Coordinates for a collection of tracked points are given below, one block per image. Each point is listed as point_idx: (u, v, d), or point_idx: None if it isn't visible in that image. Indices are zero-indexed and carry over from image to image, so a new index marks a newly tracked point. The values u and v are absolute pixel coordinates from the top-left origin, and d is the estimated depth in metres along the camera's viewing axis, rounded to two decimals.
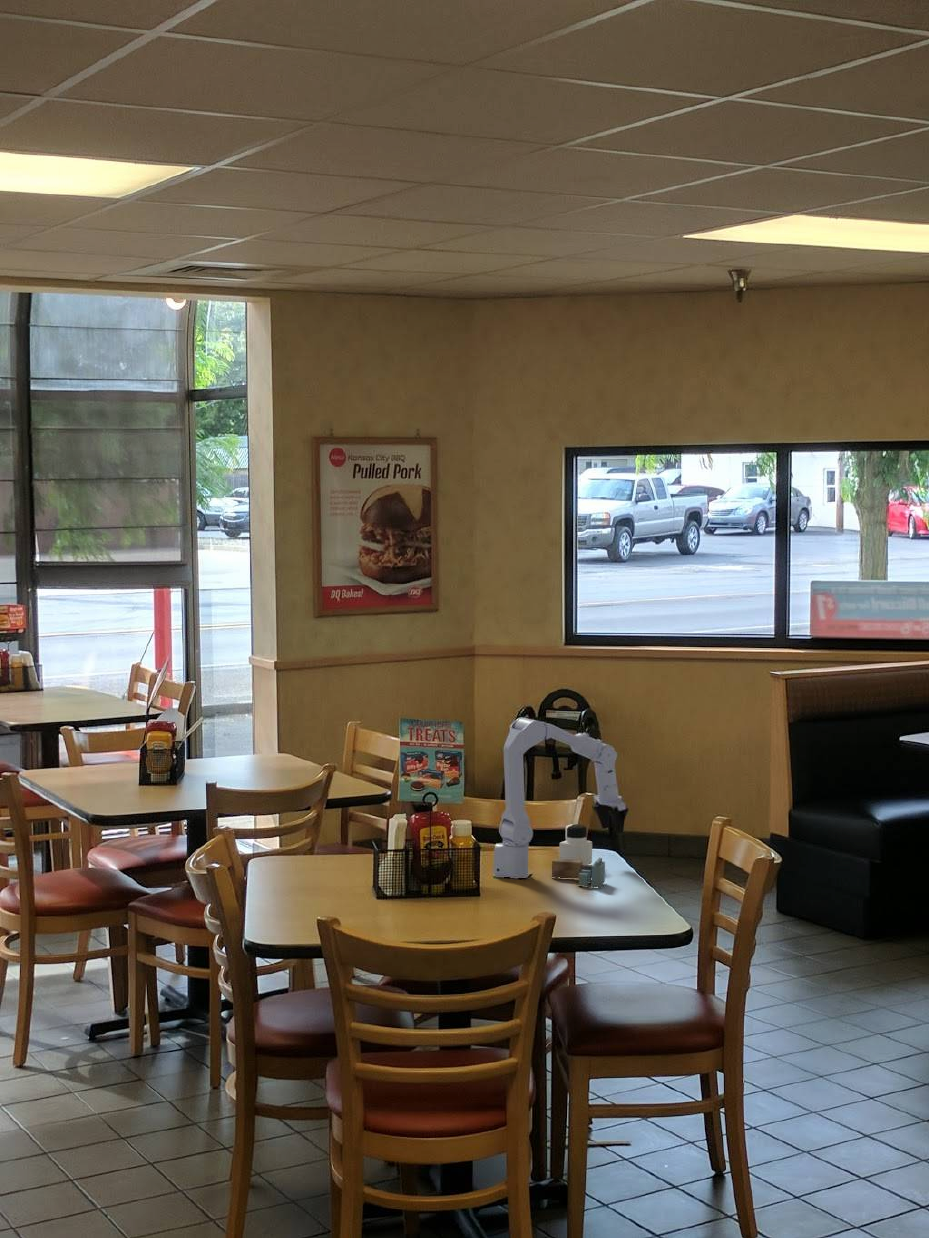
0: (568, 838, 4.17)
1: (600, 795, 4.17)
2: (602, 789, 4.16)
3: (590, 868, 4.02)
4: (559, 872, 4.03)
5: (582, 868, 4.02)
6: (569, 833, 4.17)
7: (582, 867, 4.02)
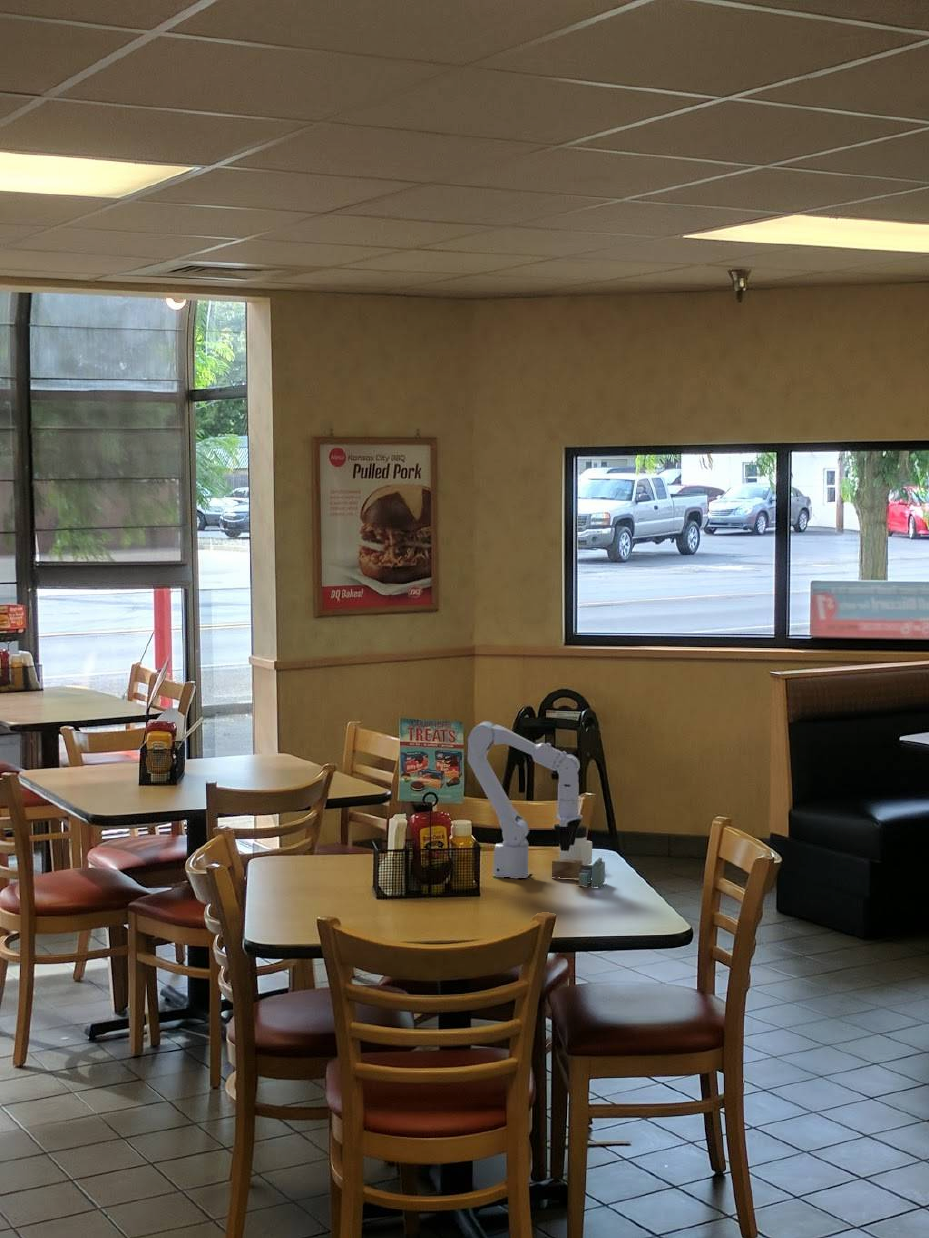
0: None
1: None
2: (558, 802, 4.02)
3: (590, 868, 4.02)
4: (559, 872, 4.03)
5: (582, 868, 4.02)
6: None
7: (582, 867, 4.02)
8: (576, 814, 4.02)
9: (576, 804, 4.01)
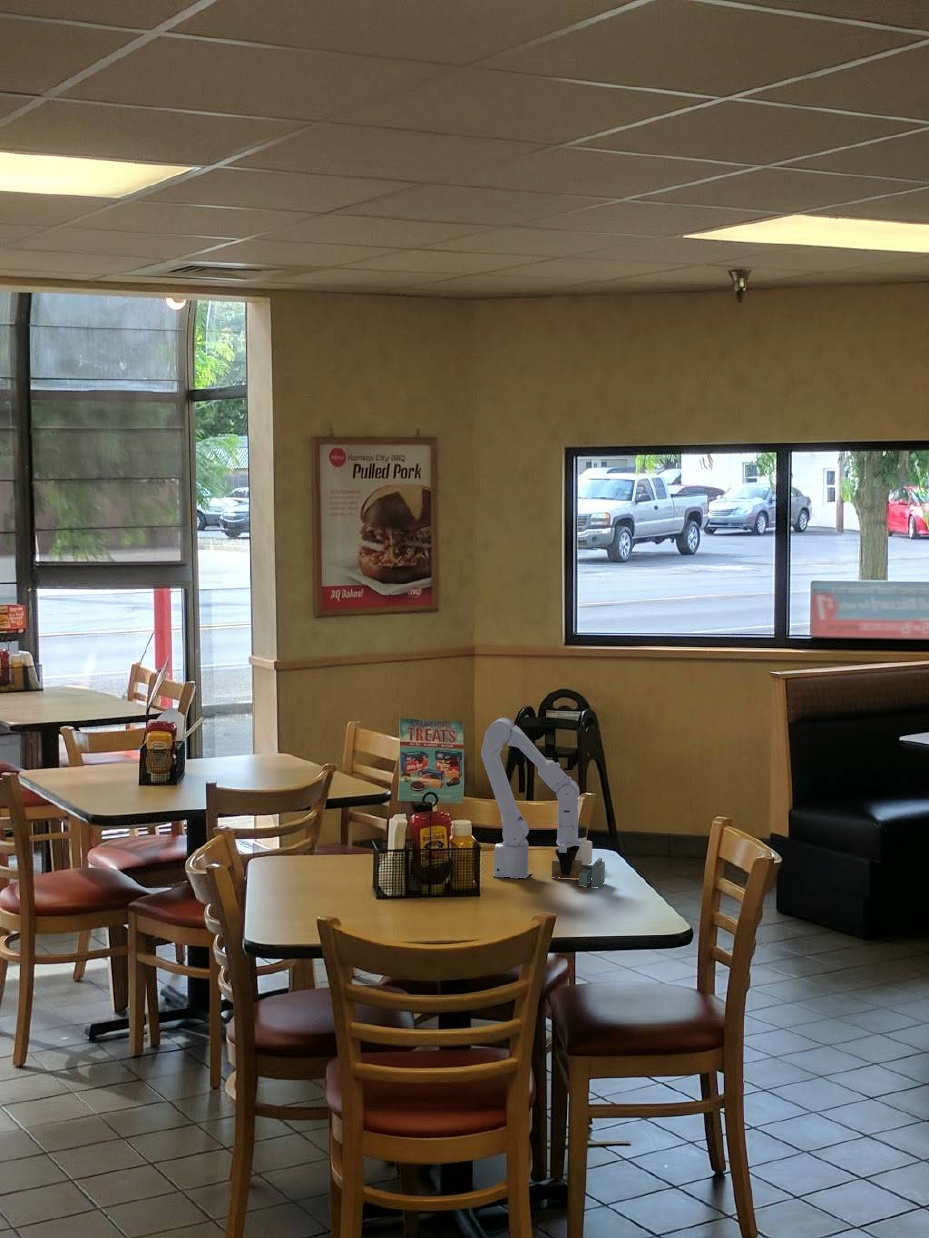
0: None
1: (557, 833, 4.04)
2: (558, 827, 4.03)
3: (590, 868, 4.02)
4: (559, 872, 4.03)
5: (582, 868, 4.02)
6: None
7: (582, 867, 4.02)
8: (576, 840, 4.02)
9: (576, 830, 4.02)
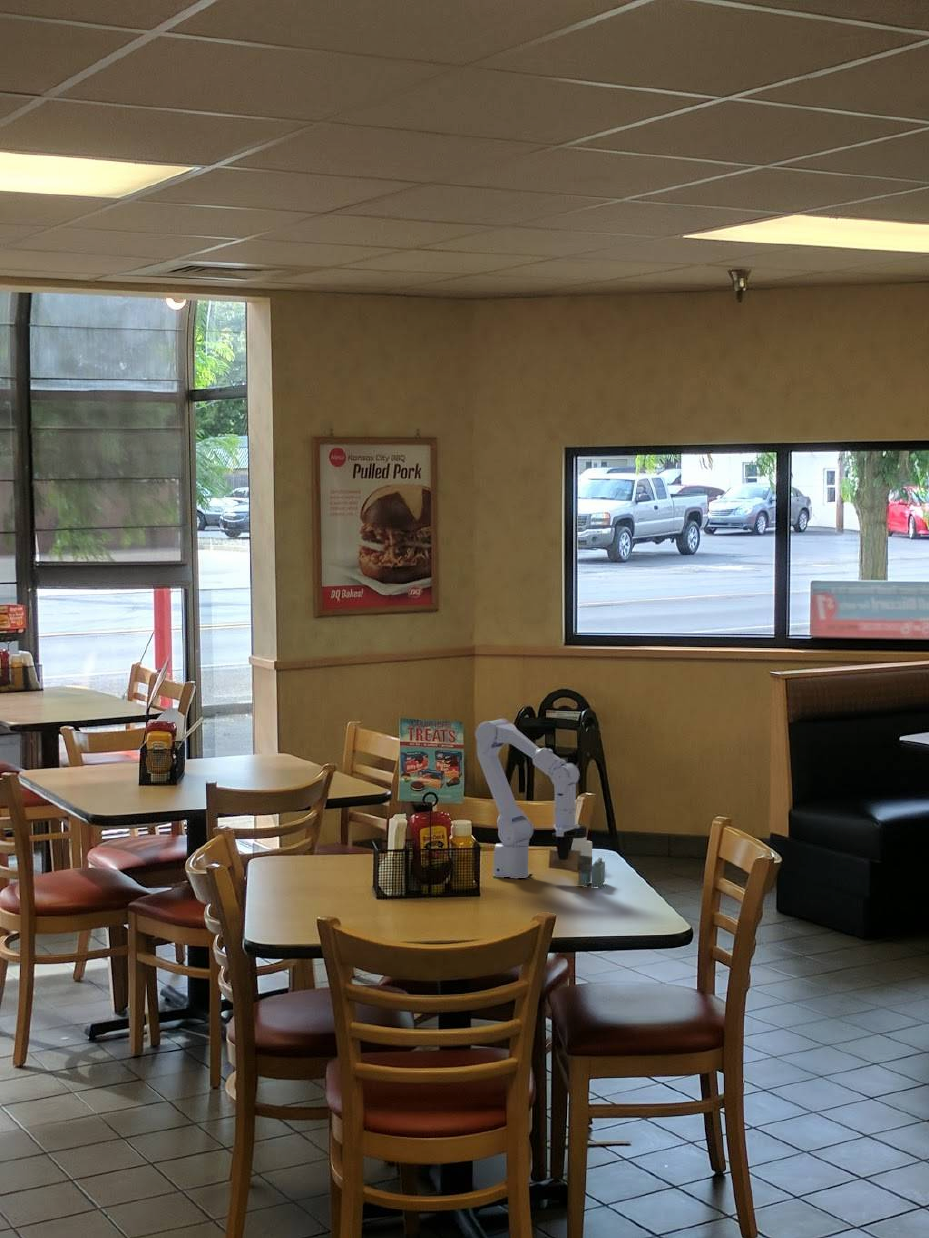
0: None
1: (554, 817, 3.98)
2: (555, 811, 3.97)
3: (588, 859, 3.96)
4: (556, 862, 3.97)
5: (580, 859, 3.96)
6: None
7: (580, 858, 3.96)
8: (573, 824, 3.96)
9: (573, 814, 3.96)
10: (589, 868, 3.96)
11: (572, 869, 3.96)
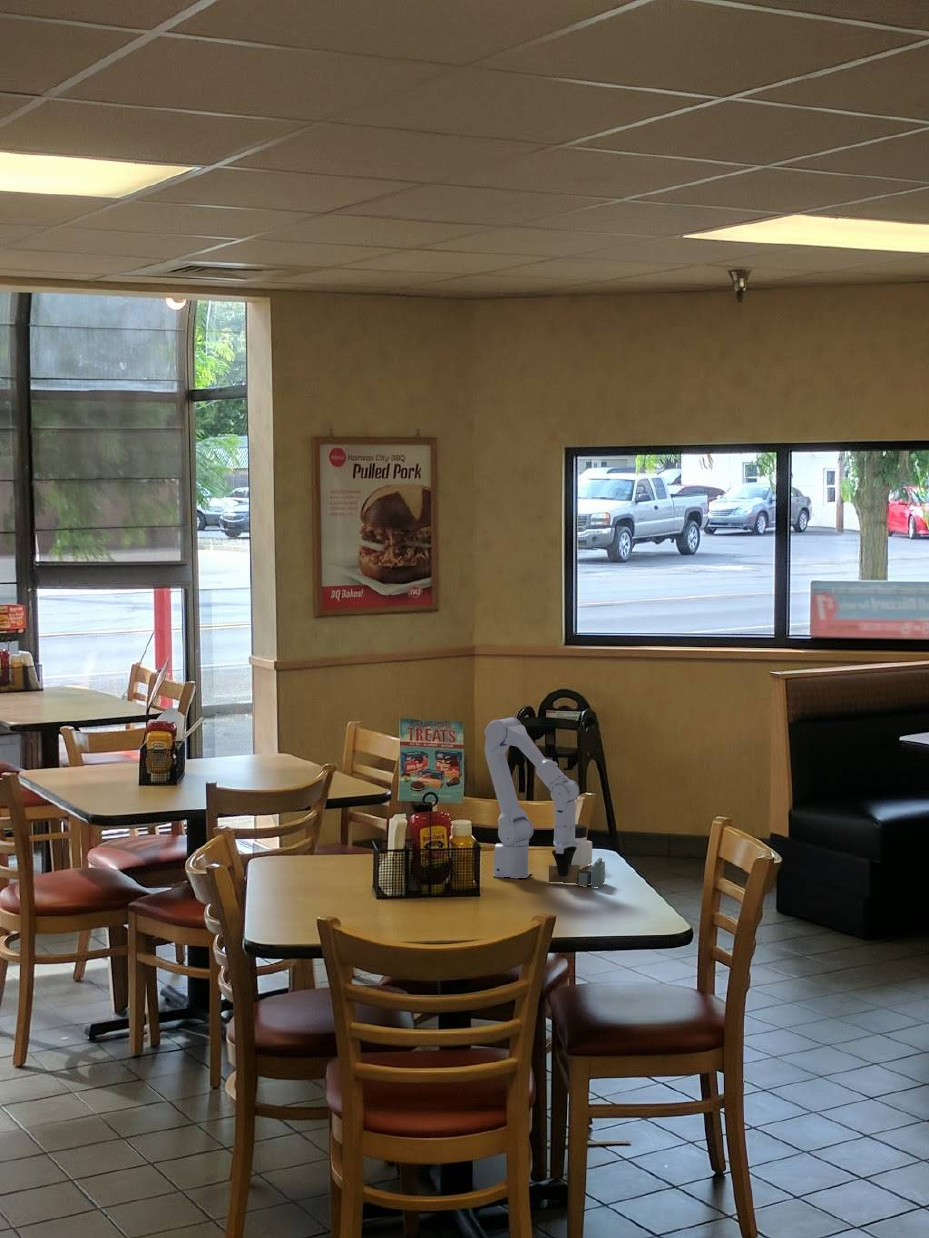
0: None
1: (554, 834, 3.98)
2: (554, 828, 3.97)
3: (587, 873, 3.96)
4: (556, 877, 3.97)
5: None
6: None
7: (579, 872, 3.96)
8: (573, 841, 3.96)
9: (573, 830, 3.96)
10: (589, 882, 3.96)
11: None
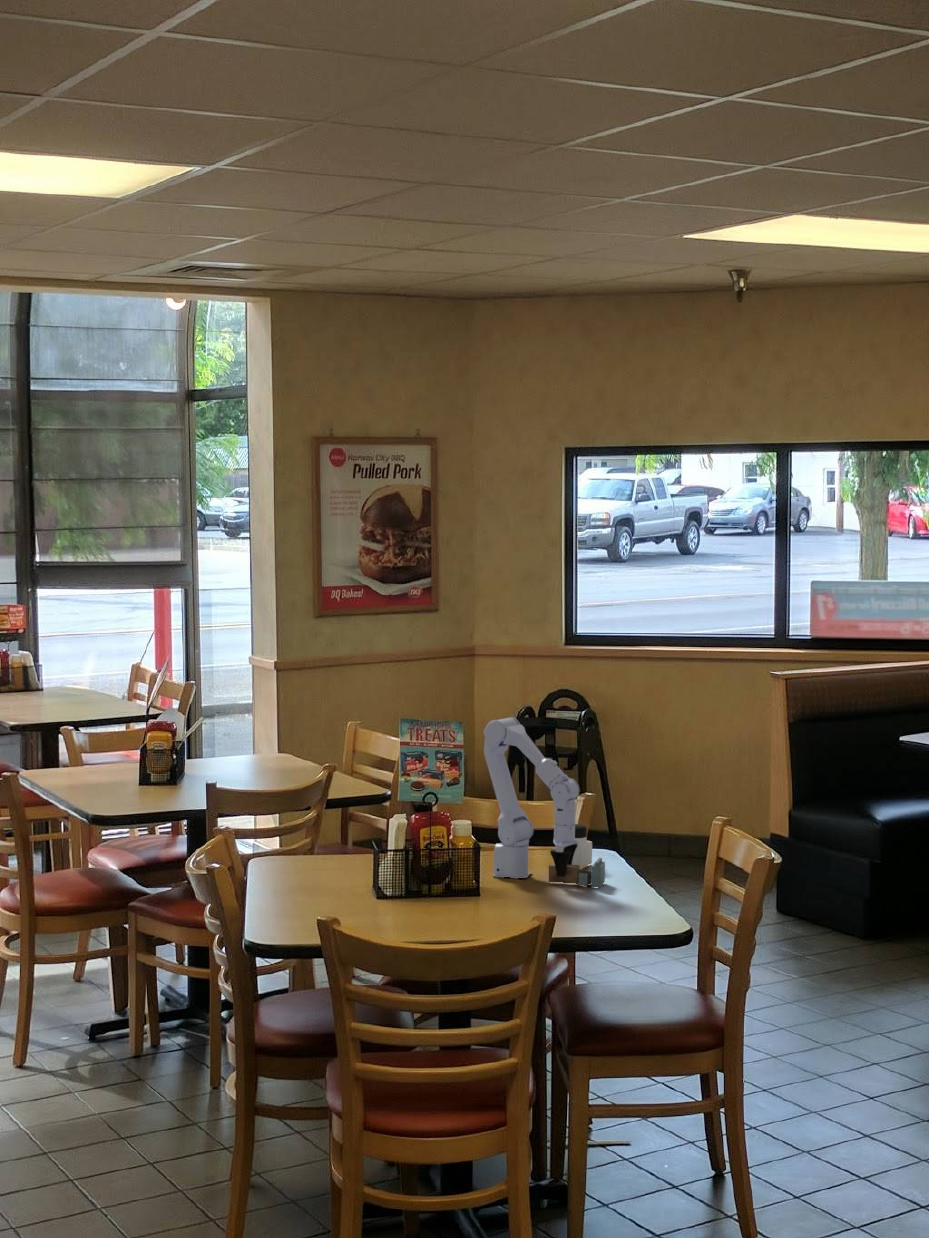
0: None
1: (554, 832, 3.98)
2: (554, 826, 3.97)
3: (587, 873, 3.96)
4: (556, 877, 3.97)
5: None
6: None
7: (579, 872, 3.96)
8: (572, 839, 3.96)
9: (573, 829, 3.96)
10: (589, 882, 3.96)
11: None
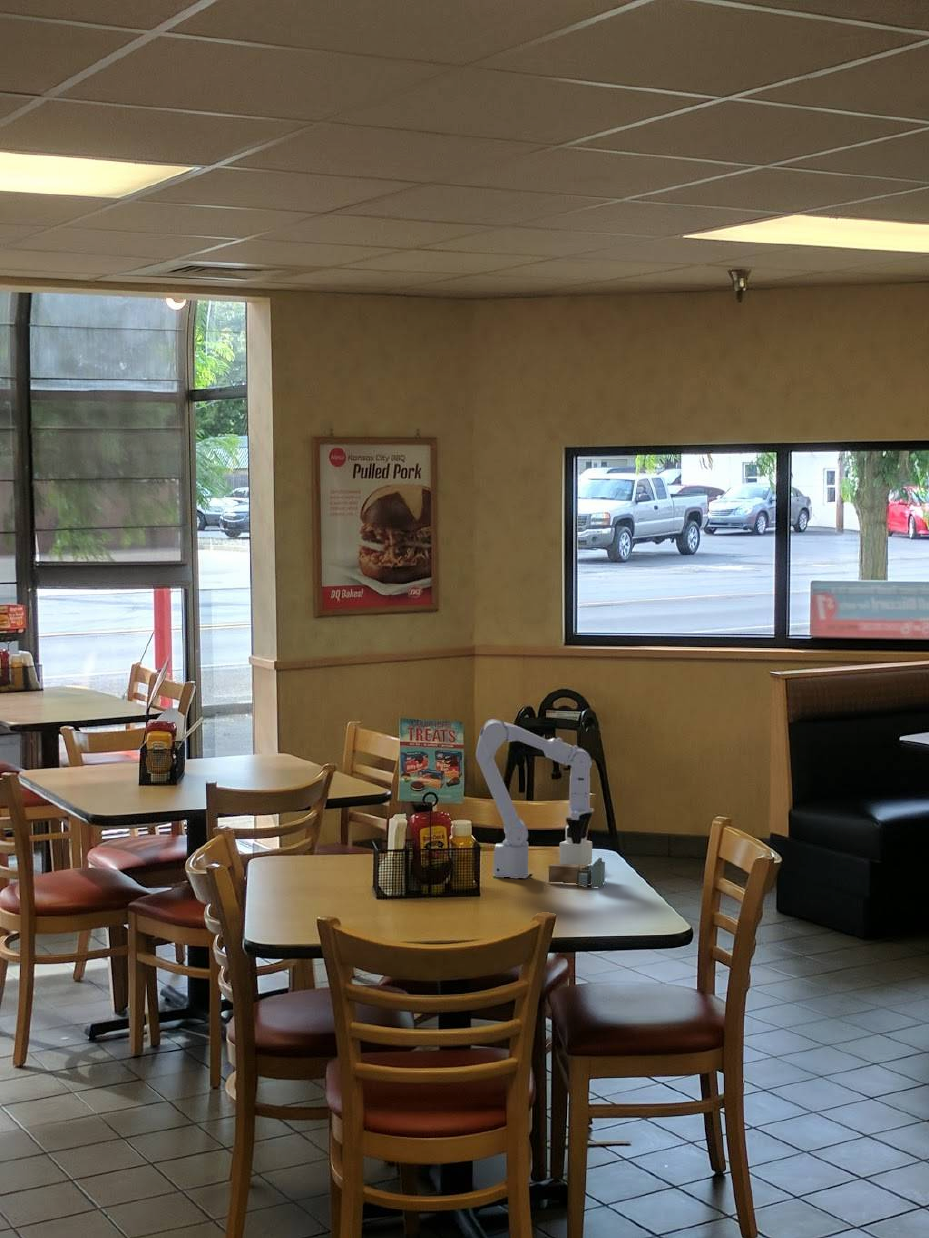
0: (568, 838, 4.17)
1: (569, 801, 4.07)
2: (570, 795, 4.06)
3: (587, 873, 3.96)
4: (556, 877, 3.97)
5: None
6: (569, 833, 4.17)
7: (579, 872, 3.96)
8: (587, 807, 4.05)
9: (587, 797, 4.05)
10: (589, 882, 3.96)
11: None
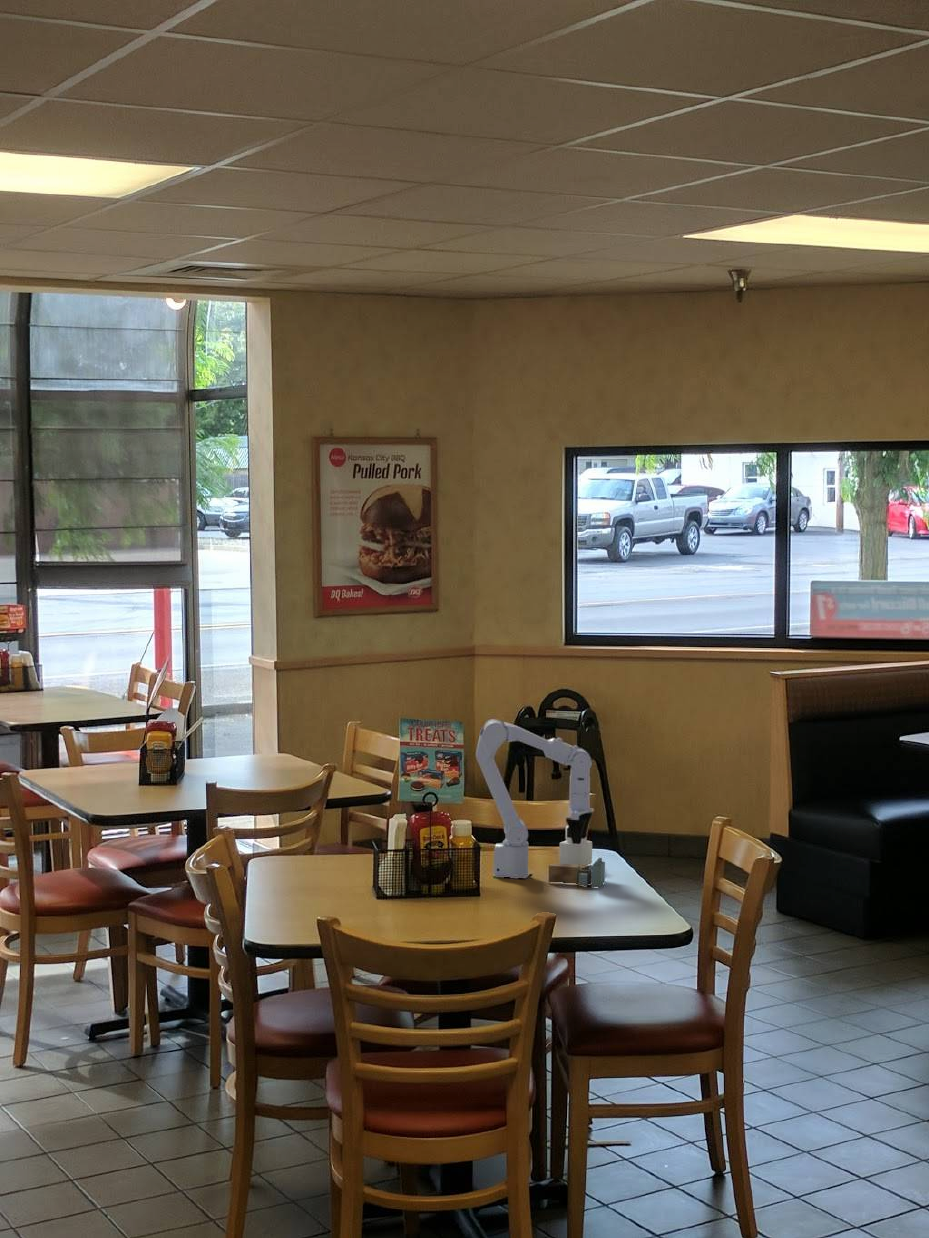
0: (568, 838, 4.17)
1: (569, 801, 4.07)
2: (570, 795, 4.06)
3: (587, 873, 3.96)
4: (556, 877, 3.97)
5: None
6: (569, 833, 4.17)
7: (579, 872, 3.96)
8: (587, 807, 4.05)
9: (587, 797, 4.05)
10: (589, 882, 3.96)
11: None
